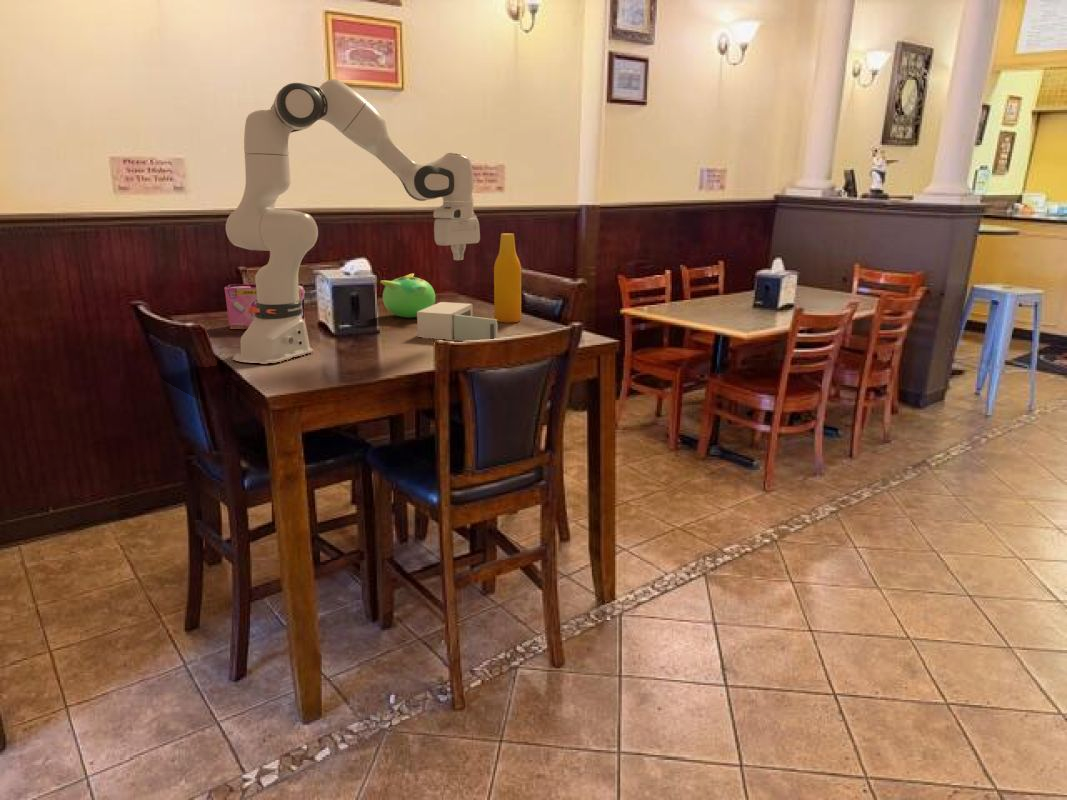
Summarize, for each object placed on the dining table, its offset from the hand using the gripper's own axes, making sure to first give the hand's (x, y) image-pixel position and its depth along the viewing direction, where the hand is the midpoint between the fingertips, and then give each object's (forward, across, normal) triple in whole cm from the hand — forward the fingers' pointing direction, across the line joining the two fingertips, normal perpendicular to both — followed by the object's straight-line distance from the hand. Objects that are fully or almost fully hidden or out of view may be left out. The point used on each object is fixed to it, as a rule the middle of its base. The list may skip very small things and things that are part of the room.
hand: (458, 259), depth 223 cm
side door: (+24, +3, +7) cm, 25 cm away
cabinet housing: (+24, -5, -8) cm, 25 cm away
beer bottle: (+22, -32, 0) cm, 39 cm away
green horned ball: (+23, -21, -33) cm, 45 cm away
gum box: (+24, +14, -64) cm, 70 cm away
